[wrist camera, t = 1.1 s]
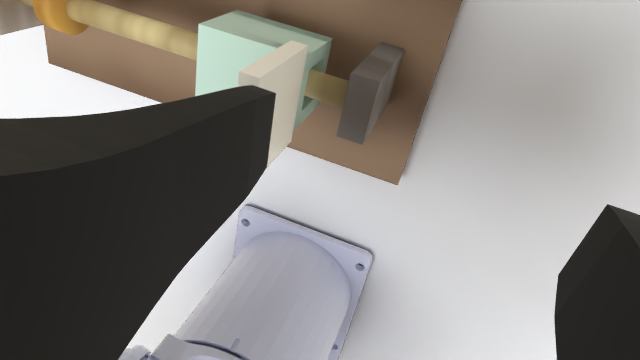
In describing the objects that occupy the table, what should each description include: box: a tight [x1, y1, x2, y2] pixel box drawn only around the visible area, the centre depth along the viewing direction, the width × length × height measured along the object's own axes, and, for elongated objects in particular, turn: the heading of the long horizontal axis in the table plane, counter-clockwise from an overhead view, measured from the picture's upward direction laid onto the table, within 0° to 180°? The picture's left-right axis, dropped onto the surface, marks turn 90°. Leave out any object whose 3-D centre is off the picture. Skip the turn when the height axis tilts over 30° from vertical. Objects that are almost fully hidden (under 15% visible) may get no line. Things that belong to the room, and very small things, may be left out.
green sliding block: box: [195, 10, 332, 168], centre depth 16 cm, size 4×4×6 cm
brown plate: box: [0, 0, 462, 185], centre depth 20 cm, size 10×20×6 cm, turn 79°
